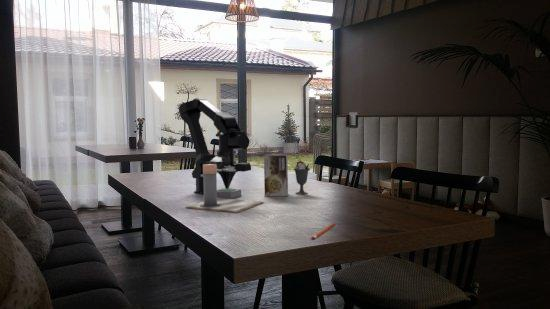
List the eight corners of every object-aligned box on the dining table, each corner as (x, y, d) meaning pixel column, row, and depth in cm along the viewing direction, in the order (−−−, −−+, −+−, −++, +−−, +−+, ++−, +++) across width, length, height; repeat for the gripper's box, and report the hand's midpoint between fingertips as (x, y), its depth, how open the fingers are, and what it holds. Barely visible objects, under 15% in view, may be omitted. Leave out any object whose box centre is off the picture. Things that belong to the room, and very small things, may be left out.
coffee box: (288, 193, 181) (288, 153, 180) (287, 196, 175) (287, 155, 174) (265, 193, 182) (265, 153, 181) (263, 196, 176) (263, 155, 175)
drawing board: (185, 208, 153) (185, 206, 153) (216, 199, 170) (216, 197, 170) (236, 213, 144) (236, 210, 144) (263, 203, 162) (263, 201, 161)
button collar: (213, 197, 174) (212, 191, 173) (223, 194, 181) (223, 188, 181) (230, 198, 170) (230, 192, 170) (241, 195, 177) (241, 189, 177)
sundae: (290, 193, 183) (290, 156, 182) (304, 191, 186) (304, 155, 185) (298, 195, 177) (297, 157, 176) (312, 194, 180) (312, 156, 179)
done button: (219, 195, 174) (219, 188, 174) (225, 193, 178) (225, 187, 178) (229, 195, 172) (229, 189, 172) (235, 194, 176) (234, 187, 176)
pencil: (310, 240, 113) (310, 237, 113) (334, 224, 130) (334, 221, 130) (314, 240, 112) (314, 237, 112) (337, 224, 129) (337, 221, 129)
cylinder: (200, 205, 153) (200, 164, 152) (210, 203, 157) (209, 163, 156) (210, 207, 151) (209, 165, 150) (220, 205, 154) (219, 164, 153)
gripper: (194, 149, 171) (195, 189, 172) (237, 150, 163) (237, 193, 164) (210, 147, 181) (211, 185, 182) (251, 148, 173) (251, 188, 174)
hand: (227, 188), depth 175 cm, fingers closed, pressing on done button
